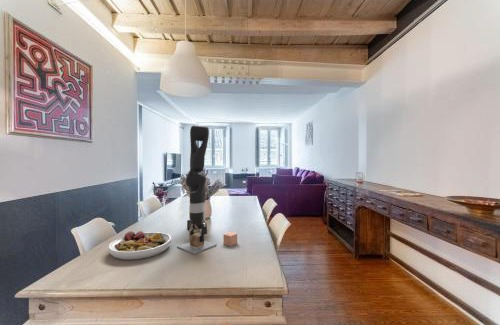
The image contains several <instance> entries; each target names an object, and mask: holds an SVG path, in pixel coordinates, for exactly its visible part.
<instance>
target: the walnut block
mask: <svg viewBox="0 0 500 325" xmlns="http://www.w3.org/2000/svg"><path fill="white" fill-rule="evenodd" d="M189 242H190V246H193V247H196V248H197V247H199V246H202V245H204V242H200V234H199V233H196V234H192V235H190V234H189Z"/></svg>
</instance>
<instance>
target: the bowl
mask: <svg viewBox="0 0 500 325" xmlns="http://www.w3.org/2000/svg"><path fill="white" fill-rule="evenodd" d="M171 242H172V236H171V235H170V234H168V233H165V232H157V231H156V232H155V231H153V232H143V231H141V230H139V231H137V232H136V233H135V232H134V231H128V232H126V233H125V234H124V236H123V237H120V238H117V239H115V240H113V241H112V242H110V243H109V244H108V251H109V254H110V255H111V256H113V257H114V258H116V259H119V260H127V261H129V260H130V261H131V260H132V261H133V260H141V259H147V258H151V257H154V256H157V255H159V254H160V253H163V252H165V250H167V249H168V248H169V246H170V244H171Z"/></svg>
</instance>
